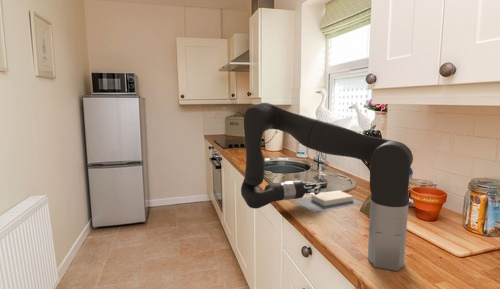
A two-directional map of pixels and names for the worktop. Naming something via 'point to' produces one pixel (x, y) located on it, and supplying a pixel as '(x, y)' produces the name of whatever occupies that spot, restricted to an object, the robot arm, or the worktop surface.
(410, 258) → the worktop surface
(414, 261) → the worktop surface
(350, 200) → the tile
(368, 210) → the rock
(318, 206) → the board
